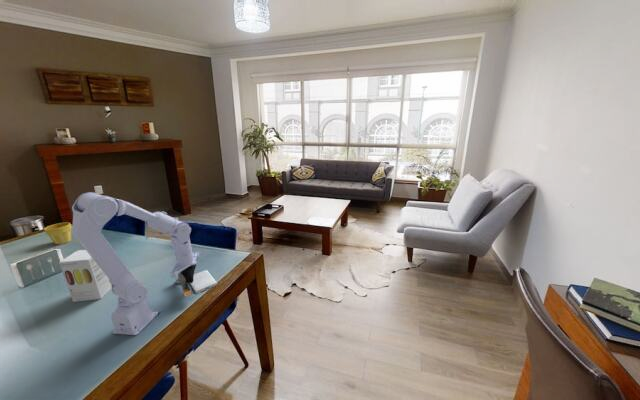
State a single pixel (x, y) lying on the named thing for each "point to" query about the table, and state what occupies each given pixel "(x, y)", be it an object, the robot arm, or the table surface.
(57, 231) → the plant pot
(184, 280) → the grey bar
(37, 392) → the table surface
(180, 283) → the door knob
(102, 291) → the supplement box
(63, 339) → the table surface
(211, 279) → the hard drive
